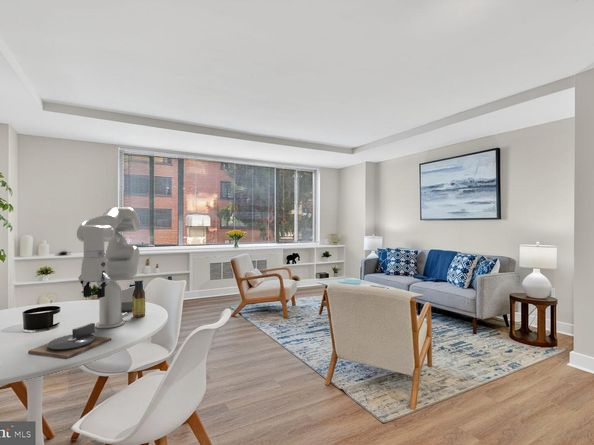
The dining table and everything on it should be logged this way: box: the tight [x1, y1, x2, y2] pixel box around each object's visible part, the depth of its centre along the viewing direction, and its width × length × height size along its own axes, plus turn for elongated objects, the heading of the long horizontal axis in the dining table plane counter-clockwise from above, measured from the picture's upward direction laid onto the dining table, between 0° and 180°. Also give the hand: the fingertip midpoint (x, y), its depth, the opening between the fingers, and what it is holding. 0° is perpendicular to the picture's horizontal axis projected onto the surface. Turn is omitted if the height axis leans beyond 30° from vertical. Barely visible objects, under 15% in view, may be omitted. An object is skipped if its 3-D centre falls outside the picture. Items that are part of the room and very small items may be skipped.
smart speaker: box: [121, 285, 135, 312], centre depth 190 cm, size 10×9×14 cm
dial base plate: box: [27, 335, 112, 359], centre depth 135 cm, size 20×20×1 cm
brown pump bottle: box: [132, 279, 146, 318], centre depth 178 cm, size 6×6×20 cm
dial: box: [47, 322, 96, 351], centre depth 136 cm, size 18×16×5 cm
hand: (94, 296), depth 139 cm, fingers open, 6 cm apart
